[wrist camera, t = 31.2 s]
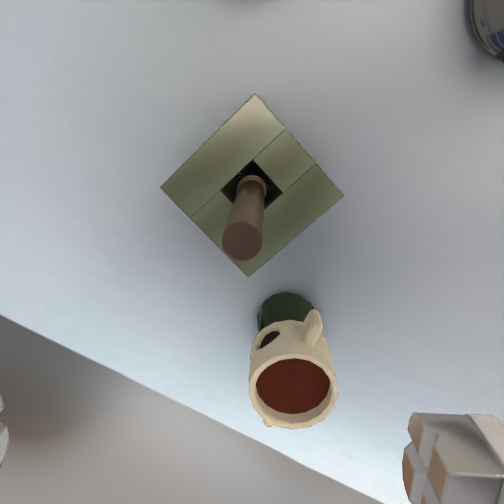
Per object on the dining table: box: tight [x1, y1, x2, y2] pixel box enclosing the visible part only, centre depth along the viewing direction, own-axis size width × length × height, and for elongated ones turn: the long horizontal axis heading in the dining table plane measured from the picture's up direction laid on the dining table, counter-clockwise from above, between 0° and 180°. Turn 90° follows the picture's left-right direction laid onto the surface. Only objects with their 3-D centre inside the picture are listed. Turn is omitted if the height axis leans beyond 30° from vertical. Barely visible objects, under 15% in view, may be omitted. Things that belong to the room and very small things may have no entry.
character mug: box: [249, 293, 339, 429], centre depth 41 cm, size 11×7×13 cm, turn 158°
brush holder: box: [160, 94, 344, 277], centre depth 38 cm, size 10×10×9 cm
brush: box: [221, 163, 267, 261], centre depth 32 cm, size 2×2×22 cm
